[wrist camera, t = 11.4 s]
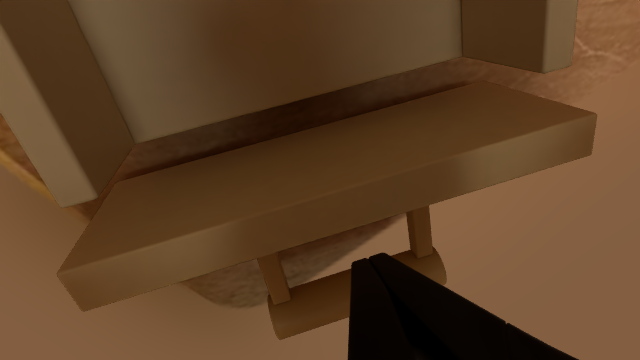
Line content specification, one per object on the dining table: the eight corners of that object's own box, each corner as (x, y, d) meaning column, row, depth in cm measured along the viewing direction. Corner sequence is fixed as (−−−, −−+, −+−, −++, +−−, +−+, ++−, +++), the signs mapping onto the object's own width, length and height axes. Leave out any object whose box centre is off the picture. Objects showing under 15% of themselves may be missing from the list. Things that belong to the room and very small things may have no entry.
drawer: (484, 213, 16) (573, 286, 12) (182, 309, 15) (163, 429, 11) (481, -409, 8) (732, -824, 4) (-152, -326, 7) (-717, -817, 3)
